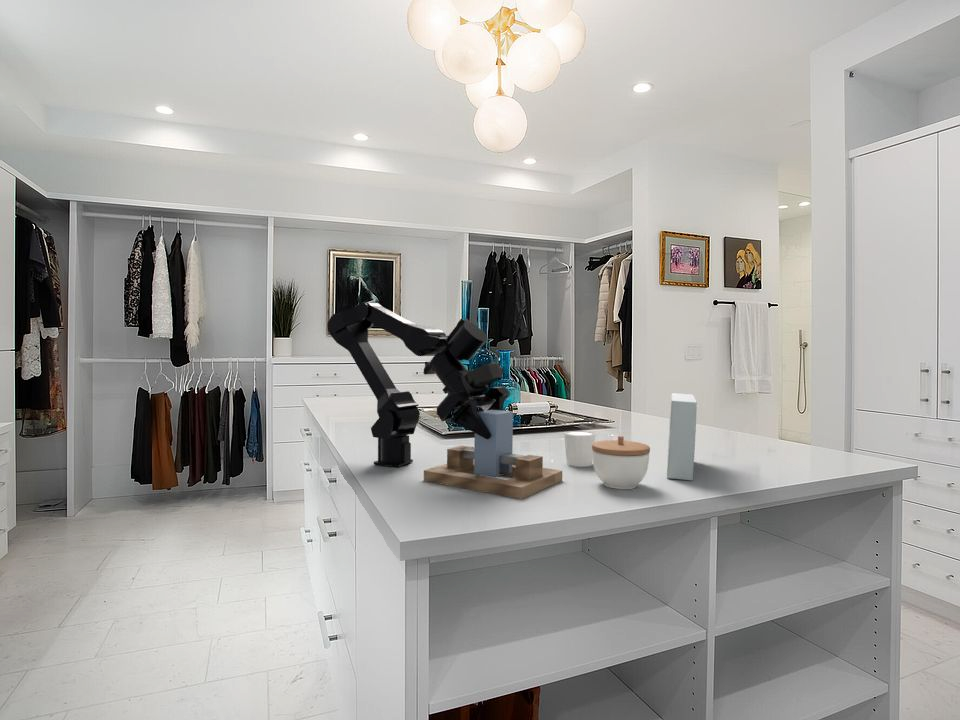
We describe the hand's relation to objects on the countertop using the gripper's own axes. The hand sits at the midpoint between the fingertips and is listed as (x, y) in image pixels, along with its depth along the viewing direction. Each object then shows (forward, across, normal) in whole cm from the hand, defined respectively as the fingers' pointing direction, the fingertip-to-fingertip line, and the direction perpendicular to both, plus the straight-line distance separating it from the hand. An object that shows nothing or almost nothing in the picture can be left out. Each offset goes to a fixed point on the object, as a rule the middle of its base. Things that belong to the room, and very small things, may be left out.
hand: (499, 435), depth 109 cm
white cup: (+11, +24, +2) cm, 27 cm away
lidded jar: (+21, +12, -8) cm, 25 cm away
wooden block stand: (+5, 0, +7) cm, 9 cm away
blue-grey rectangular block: (+4, 0, +6) cm, 8 cm away
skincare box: (+25, +33, -12) cm, 43 cm away
